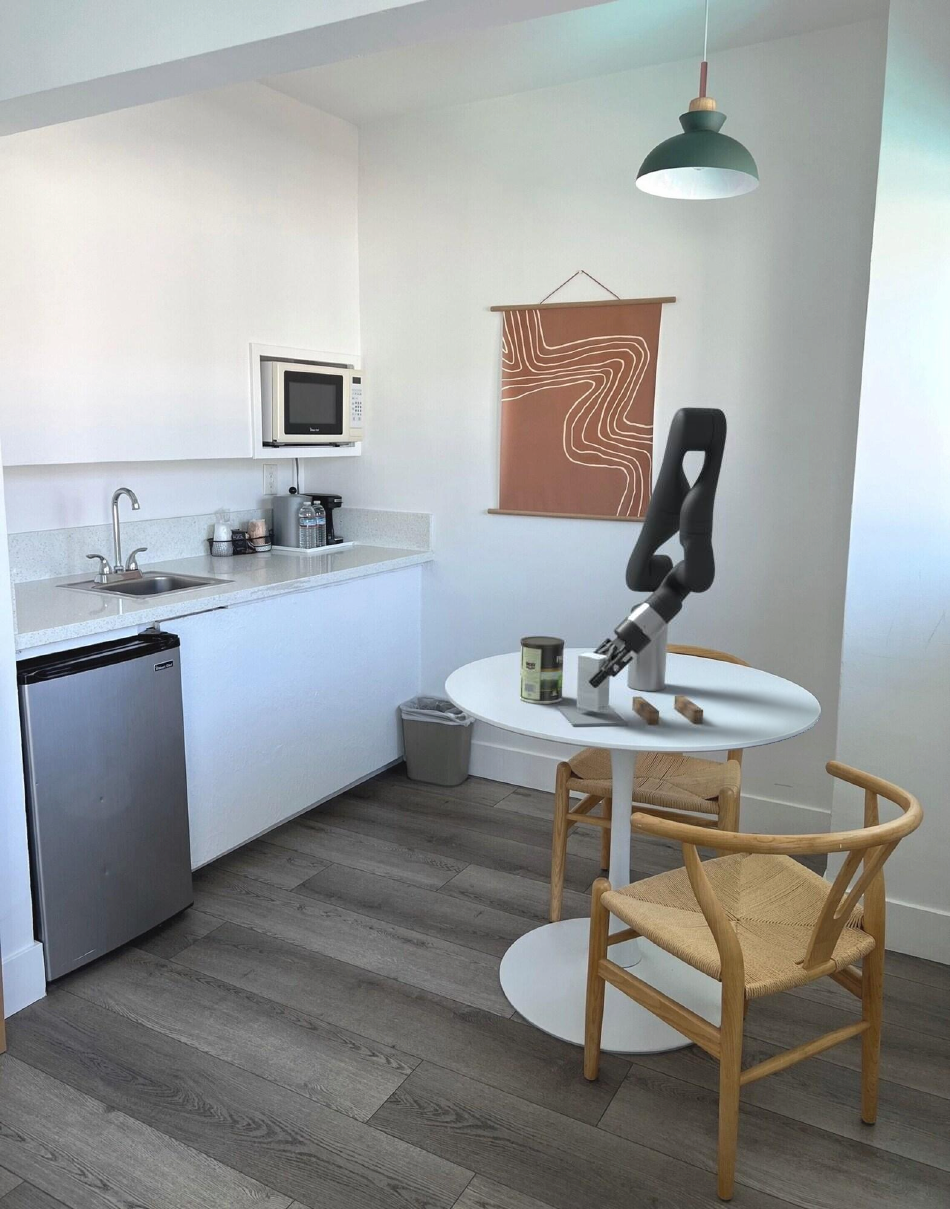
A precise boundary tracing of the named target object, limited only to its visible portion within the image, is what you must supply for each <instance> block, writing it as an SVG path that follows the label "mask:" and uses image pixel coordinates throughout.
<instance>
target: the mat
mask: <svg viewBox="0 0 950 1209" xmlns="http://www.w3.org/2000/svg"><path fill="white" fill-rule="evenodd" d="M557 710H558V711H559V712H560V713H561V714H562V716H563V717H564V718H565V720H567V721H568V723H569V724H570V723H571V724H570V725H571V726H572V727H574V728H575V727H610V726H612V727H614V726H628V722H627V720H625V719H624V718H623V717H622V716H621V715H620V714H619V713H618V712H617V711H616V710H615V709H613V707H611V706H610V705H609V709H607V710H603V711H600V712H595V711H590V710H586V709H582V708H578V707H577V705H557Z"/></svg>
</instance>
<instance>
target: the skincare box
mask: <svg viewBox="0 0 950 1209" xmlns="http://www.w3.org/2000/svg"><path fill="white" fill-rule="evenodd" d="M605 658H606V656H605V655H600V654H595V653H593V652H586V653H581V654H578V655H577V683H576V684H577V685H576V686H577V687H576V688H577V689H576V706H577V707H578V708H582V709H586V710H590V711H595V712H600V711H603V710H607V709H609V706H610V704H609V703H610V702H609V701H610V677H611V676H610V677H608V676H607V678H606V679H605V680H604V681H603V682H602V683H601V684H600V685H599V686H598V687H597V688H594V687H593V686H592V685H591V684H590V683H589V680H590V679H591V678H592V677H593V676H594V675H595V674H596V673H597V672H598V671H599V670H601V668H602V666H603V665H604V663H605V662H604V659H605ZM601 671H602V670H601Z"/></svg>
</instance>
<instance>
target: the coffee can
mask: <svg viewBox="0 0 950 1209" xmlns="http://www.w3.org/2000/svg"><path fill="white" fill-rule="evenodd" d="M519 642H520V659H519V660H520V661H519V662H520V664H519V666H520V669H519V697H518V698H519V700H521V701H522V702H526V703H529V702H530V704H536V705H537V704H538V705H539V704H540V705H551V704H556V702H557V703H559V701H560V702H562V700H563V674H564V673H563V672H564V671H563V670H564V649H565V648H564V647H565V640H564V639H562V638H559V637H555V636H543V635H539V636H538V635H537V636H536V635H535V636H526V637H522V638H521V639H520V640H519Z"/></svg>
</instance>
